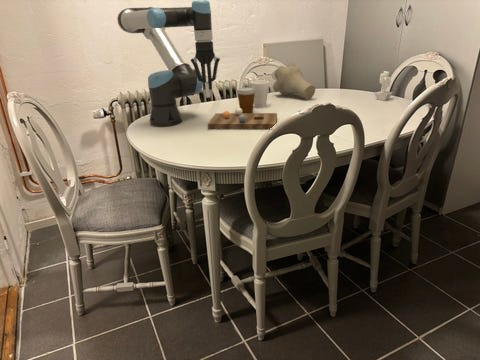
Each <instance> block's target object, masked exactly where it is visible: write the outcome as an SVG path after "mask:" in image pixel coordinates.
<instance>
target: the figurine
mask: <svg viewBox="0 0 480 360" xmlns="http://www.w3.org/2000/svg"><path fill="white" fill-rule="evenodd" d="M389 75H390V71H386V70H385V71H383V72H382V73H380V75H379V84H380V85H381V89H380V90H379V91H377V92H374V93H373V94H374V97H375V98H376V100H378V101H387V100H389V99H390V97H391V96H392V95H393V93H394V92H393V91H392V92H391V91H388V90H387V89H388V88H390V87H391V81H392V80H391V77H390V76H389Z"/></svg>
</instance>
